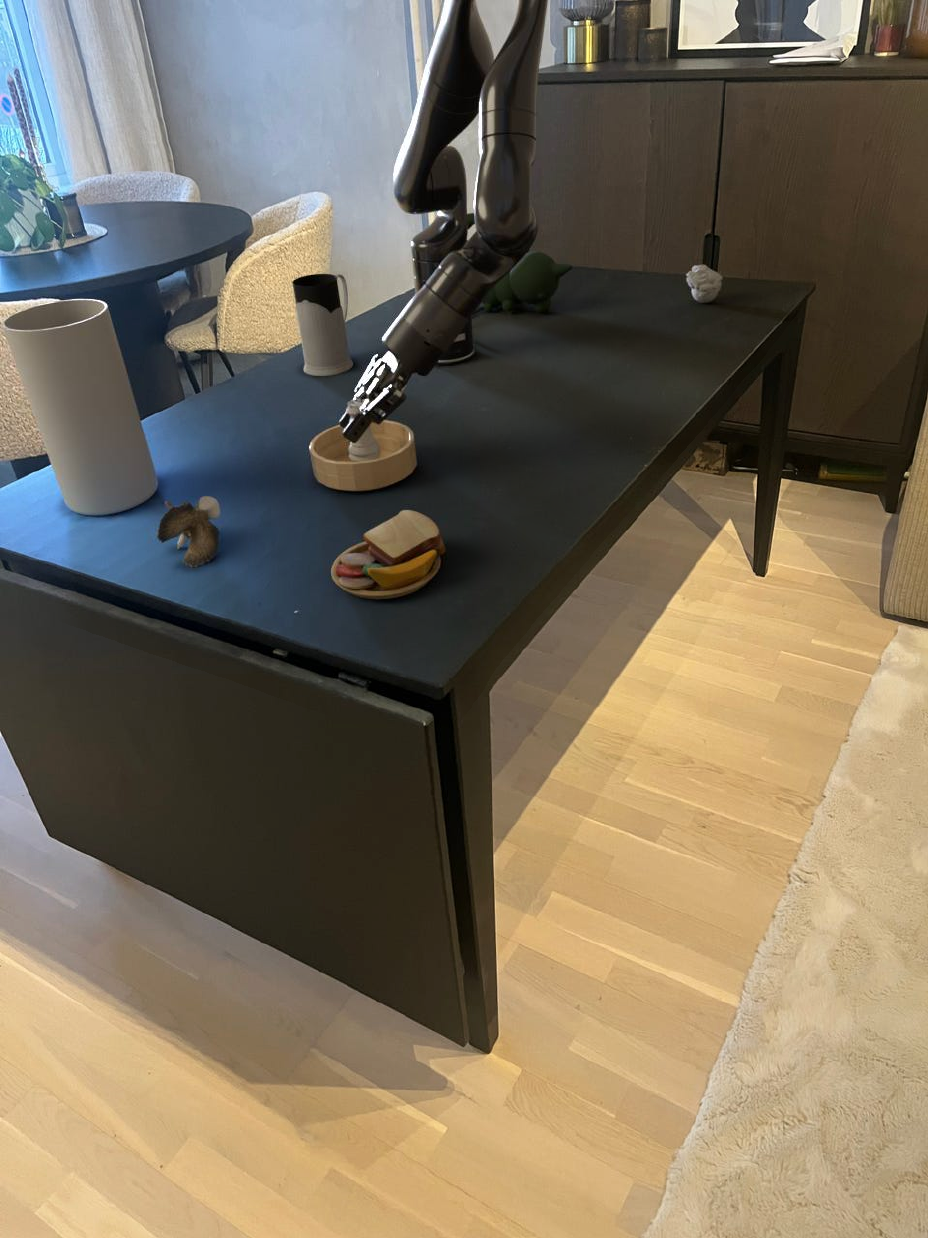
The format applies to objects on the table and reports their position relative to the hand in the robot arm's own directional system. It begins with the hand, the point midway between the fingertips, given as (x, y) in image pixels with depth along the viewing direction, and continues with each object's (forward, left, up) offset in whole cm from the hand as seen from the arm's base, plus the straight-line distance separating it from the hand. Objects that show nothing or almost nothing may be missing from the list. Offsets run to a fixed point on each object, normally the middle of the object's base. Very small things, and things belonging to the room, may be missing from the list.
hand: (346, 432), depth 127 cm
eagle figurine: (+17, -19, -6) cm, 26 cm away
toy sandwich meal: (+27, +5, -6) cm, 28 cm away
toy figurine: (-66, +30, -6) cm, 73 cm away
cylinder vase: (0, -33, -6) cm, 34 cm away
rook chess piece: (0, +2, -4) cm, 5 cm away
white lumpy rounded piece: (-59, +66, -6) cm, 89 cm away
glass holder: (-46, -4, -6) cm, 47 cm away
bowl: (0, +2, -6) cm, 6 cm away
